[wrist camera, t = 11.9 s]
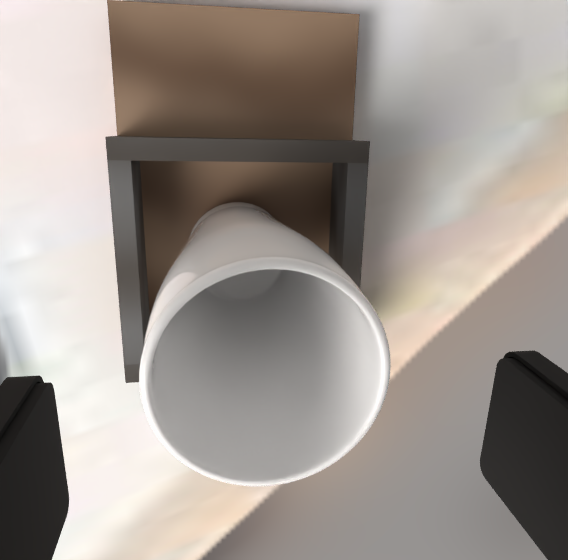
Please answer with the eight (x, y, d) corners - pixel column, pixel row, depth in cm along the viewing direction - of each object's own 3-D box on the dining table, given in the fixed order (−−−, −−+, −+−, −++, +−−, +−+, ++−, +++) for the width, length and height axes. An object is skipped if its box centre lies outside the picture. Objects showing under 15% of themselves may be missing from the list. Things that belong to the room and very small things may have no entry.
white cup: (301, 188, 26) (410, 257, 12) (294, 307, 28) (381, 484, 14) (173, 183, 25) (129, 253, 11) (174, 307, 27) (138, 499, 13)
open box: (112, 7, 24) (92, -19, 20) (351, 20, 26) (379, -1, 22) (137, 345, 29) (125, 382, 25) (334, 337, 31) (354, 370, 27)
